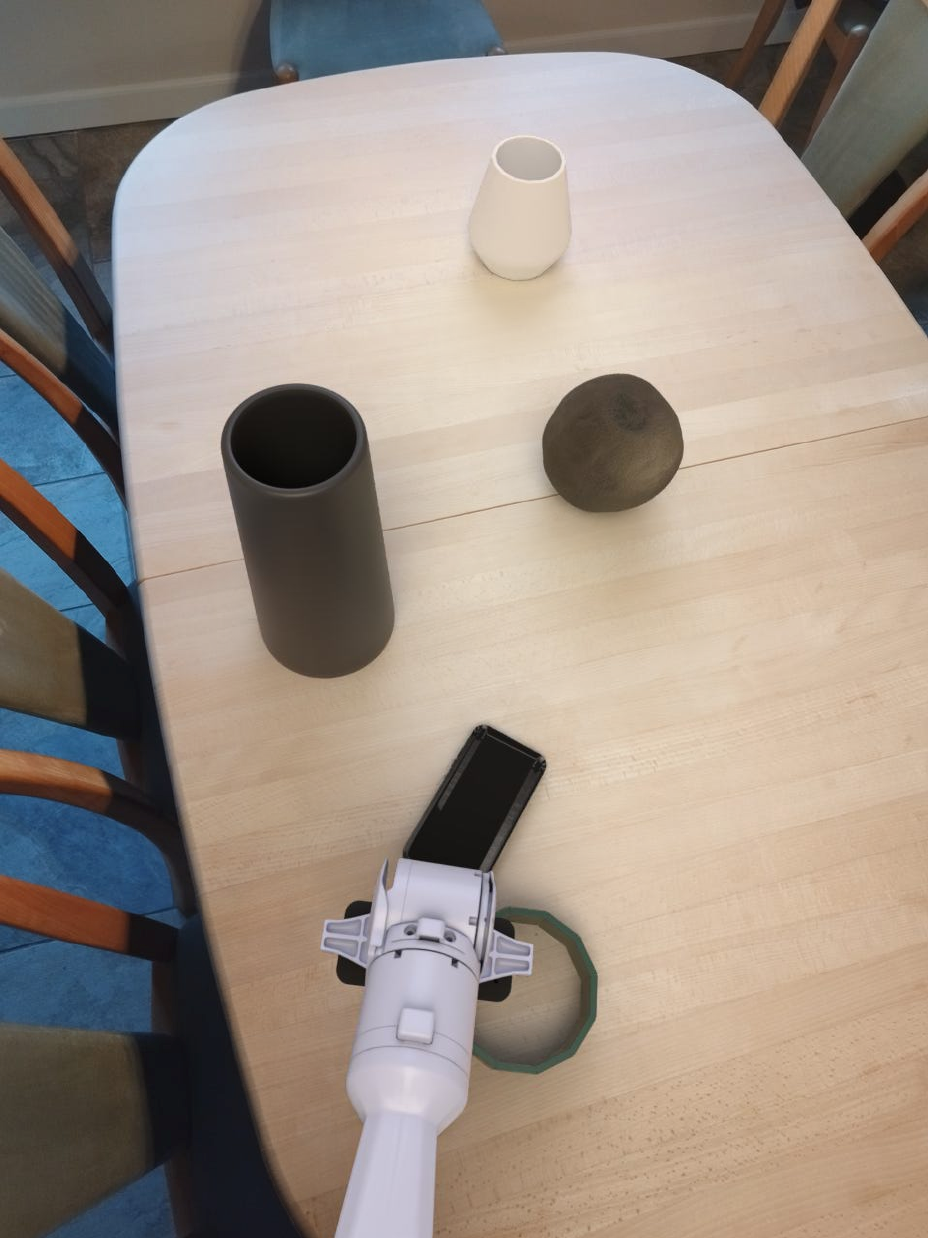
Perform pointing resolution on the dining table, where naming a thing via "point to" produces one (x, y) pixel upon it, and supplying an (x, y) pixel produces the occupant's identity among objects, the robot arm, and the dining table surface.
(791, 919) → the dining table surface
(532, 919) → the green polygonal ring
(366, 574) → the vase
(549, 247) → the cup
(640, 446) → the dark brown round lump
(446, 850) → the phone
